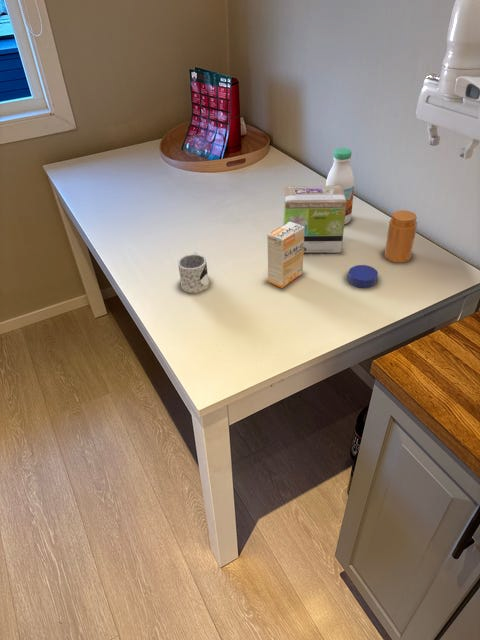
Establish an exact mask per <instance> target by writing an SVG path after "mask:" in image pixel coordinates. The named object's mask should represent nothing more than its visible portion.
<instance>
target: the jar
mask: <svg viewBox="0 0 480 640" xmlns="http://www.w3.org/2000/svg"><path fill="white" fill-rule="evenodd" d="M417 218H418V217H417V214H416V213H414V212H413V211H411V210H405V209H403V210H402V209H401V210H396V211H394V212H393V213H392V214H391V218H390V219H389V222H388V229H387V236H386V242H385V249H384V258H385V259H386V260H388V261H390V262H393V263H406V262H408V261H410V260H411V257H412V253H413V248H414V241H415V237H416V232H417V227H418V221H417Z"/></svg>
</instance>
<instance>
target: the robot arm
mask: <svg viewBox="0 0 480 640" xmlns="http://www.w3.org/2000/svg"><path fill="white" fill-rule="evenodd" d="M439 73H440V74H437V73H430V74H429V75H427V76H426V77H425V78H424V80H423V85H422V87H421V91H420V93H419V96H418V101H417V104H416V108H415V117H416V119H417V120H419V121H421V122H424V123H426V131H427V134H428V142H427V143H428V145H429V146H433V147H435V146H438V145H439V144H440V140H441V136H440V135H439V134H438V128H441V129H444V130H447V131H450V132H453V133H455V134H458V135H461V136H464V137H466V138H467V140H466V143H468V144H467V145H466V147H463V148H461V149H460V154H459V157H461V158H462V159H464V160H467V159H471V158H472V156H473V154H474V153H473V152H474V150H475V149H476V147H477V146H478V145H479V144H480V0H455V1H454V4H453V8H452V11H451V15H450V19H449V24H448V29H447V33H446V52H445V55H444V58H443V59H442V63H441V68H440V72H439Z"/></svg>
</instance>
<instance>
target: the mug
mask: <svg viewBox="0 0 480 640" xmlns="http://www.w3.org/2000/svg"><path fill="white" fill-rule="evenodd" d="M177 266H178V267H177V268H178V272H179V277H180V278H179V279H180V285H181V289H182V291H184V292H186V293H189V294H197V293H201V292H204V291H205V290H207V289H208V288H209V285H210V282H209V274H208V265H207V258H206V257H205V256H203V255H201V254H198V252H193V253H192V254H186V255H183V256H181V257H180V258H179V260H178V261H177Z"/></svg>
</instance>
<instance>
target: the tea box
mask: <svg viewBox="0 0 480 640" xmlns="http://www.w3.org/2000/svg"><path fill="white" fill-rule="evenodd" d="M345 213H346V199H345V195H344V191H343V188H342V185H339V186H326V185H299V186H298V185H291V186H290V185H288V186H287V185H286V186H284V187H283V220H282V221H283V223H282V226H283V225H285V224H286V223H288V222H293V223H296V224H299V225H301V226H304V227H305V230H304V253H325V254H327V253H332V254H333V253H335V254H340V253H341V252H342V248H343V240H344V232H345V231H344V230H345V224H344V221H345ZM304 253H303V254H304Z"/></svg>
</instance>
